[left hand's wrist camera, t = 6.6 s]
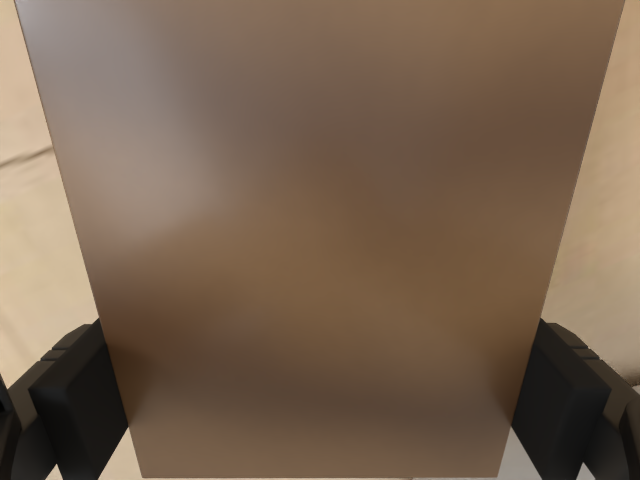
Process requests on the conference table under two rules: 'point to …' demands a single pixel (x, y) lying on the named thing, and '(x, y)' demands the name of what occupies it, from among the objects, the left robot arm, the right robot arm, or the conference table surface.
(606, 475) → the left robot arm
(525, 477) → the projector
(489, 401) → the cabinet
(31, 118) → the conference table surface
